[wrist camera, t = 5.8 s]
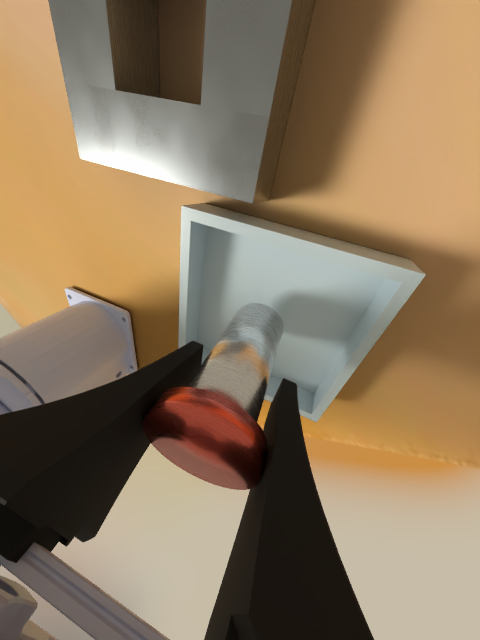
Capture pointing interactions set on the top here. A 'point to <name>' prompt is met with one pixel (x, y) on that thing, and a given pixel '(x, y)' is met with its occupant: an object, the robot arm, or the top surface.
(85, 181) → the top surface
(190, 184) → the bracket
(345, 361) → the tray
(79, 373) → the robot arm
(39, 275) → the top surface
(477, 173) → the top surface
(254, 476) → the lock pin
